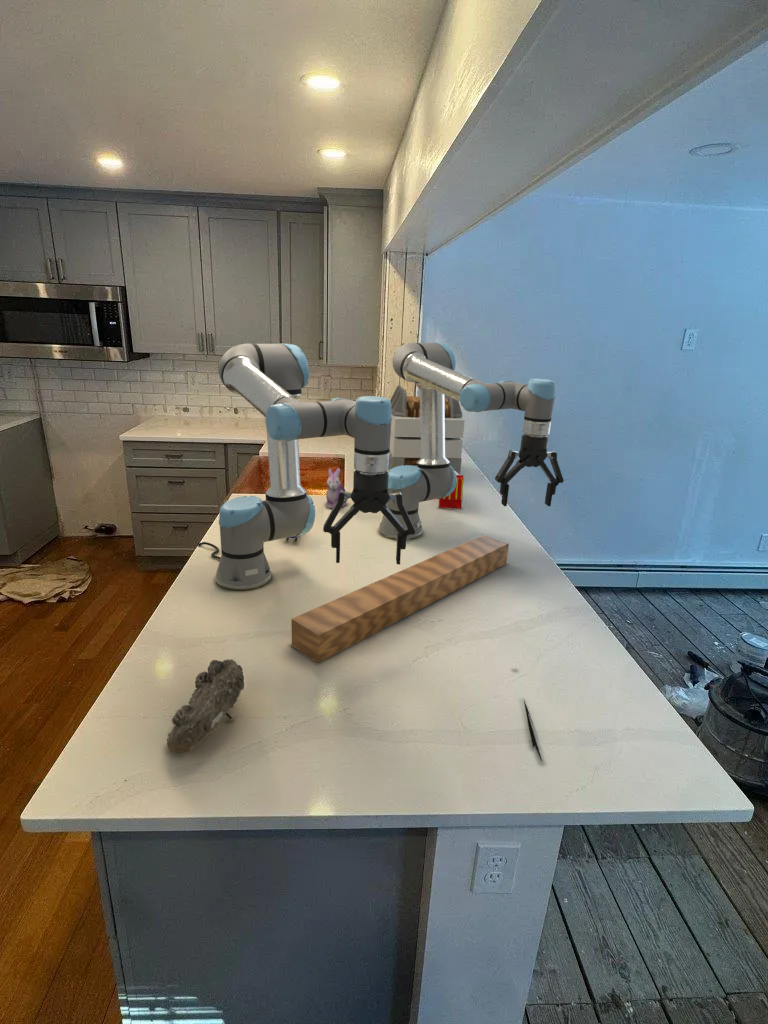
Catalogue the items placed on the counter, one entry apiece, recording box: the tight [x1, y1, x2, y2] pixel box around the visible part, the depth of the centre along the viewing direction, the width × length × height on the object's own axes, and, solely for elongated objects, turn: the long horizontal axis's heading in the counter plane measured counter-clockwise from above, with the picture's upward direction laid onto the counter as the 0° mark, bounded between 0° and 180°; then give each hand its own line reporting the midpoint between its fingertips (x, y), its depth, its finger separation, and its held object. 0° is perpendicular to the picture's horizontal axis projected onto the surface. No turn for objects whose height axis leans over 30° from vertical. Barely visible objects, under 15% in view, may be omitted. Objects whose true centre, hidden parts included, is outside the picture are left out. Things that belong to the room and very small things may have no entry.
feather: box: [514, 668, 543, 762], centre depth 113 cm, size 2×28×2 cm
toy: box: [438, 471, 465, 510], centre depth 239 cm, size 12×13×30 cm
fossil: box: [166, 658, 245, 754], centre depth 106 cm, size 22×10×15 cm
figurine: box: [325, 467, 347, 509], centre depth 223 cm, size 9×10×15 cm
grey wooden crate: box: [389, 384, 465, 475], centre depth 268 cm, size 34×33×41 cm
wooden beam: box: [290, 534, 510, 664], centre depth 155 cm, size 78×10×7 cm, turn 137°
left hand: (368, 561), depth 128 cm, fingers open, 13 cm apart
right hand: (525, 504), depth 169 cm, fingers open, 13 cm apart
